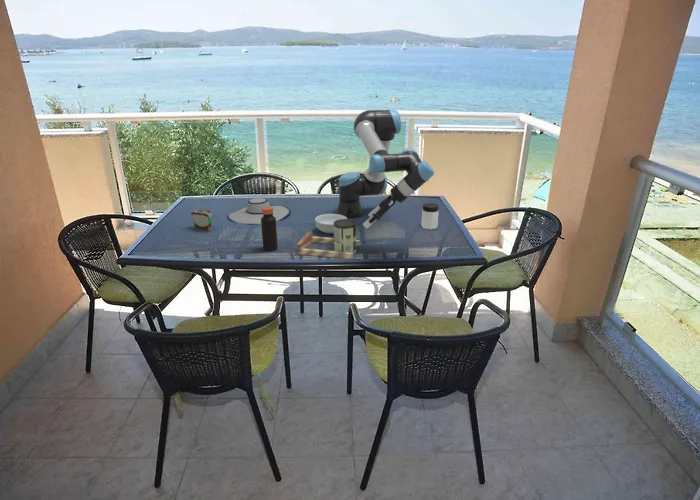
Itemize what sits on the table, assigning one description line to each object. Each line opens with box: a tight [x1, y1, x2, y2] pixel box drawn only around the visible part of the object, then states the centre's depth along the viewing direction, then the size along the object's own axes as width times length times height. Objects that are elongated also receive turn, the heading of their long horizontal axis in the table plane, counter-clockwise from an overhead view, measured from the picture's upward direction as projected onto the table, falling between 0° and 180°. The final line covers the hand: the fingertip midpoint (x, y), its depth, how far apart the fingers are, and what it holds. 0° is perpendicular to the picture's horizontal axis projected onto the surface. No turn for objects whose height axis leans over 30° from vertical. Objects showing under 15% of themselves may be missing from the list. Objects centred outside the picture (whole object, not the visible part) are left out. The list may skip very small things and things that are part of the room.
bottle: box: [260, 207, 279, 252], centre depth 209 cm, size 7×7×20 cm
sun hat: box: [226, 197, 292, 226], centre depth 258 cm, size 36×36×9 cm
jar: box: [420, 202, 439, 230], centre depth 237 cm, size 9×8×12 cm
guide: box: [296, 230, 361, 260], centre depth 210 cm, size 26×17×5 cm, turn 78°
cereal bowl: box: [314, 213, 348, 235], centre depth 232 cm, size 17×17×7 cm
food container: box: [190, 208, 213, 233], centre depth 236 cm, size 12×6×10 cm, turn 65°
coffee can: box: [333, 218, 357, 254], centre depth 207 cm, size 10×10×14 cm
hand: (367, 221), depth 201 cm, fingers open, 13 cm apart
